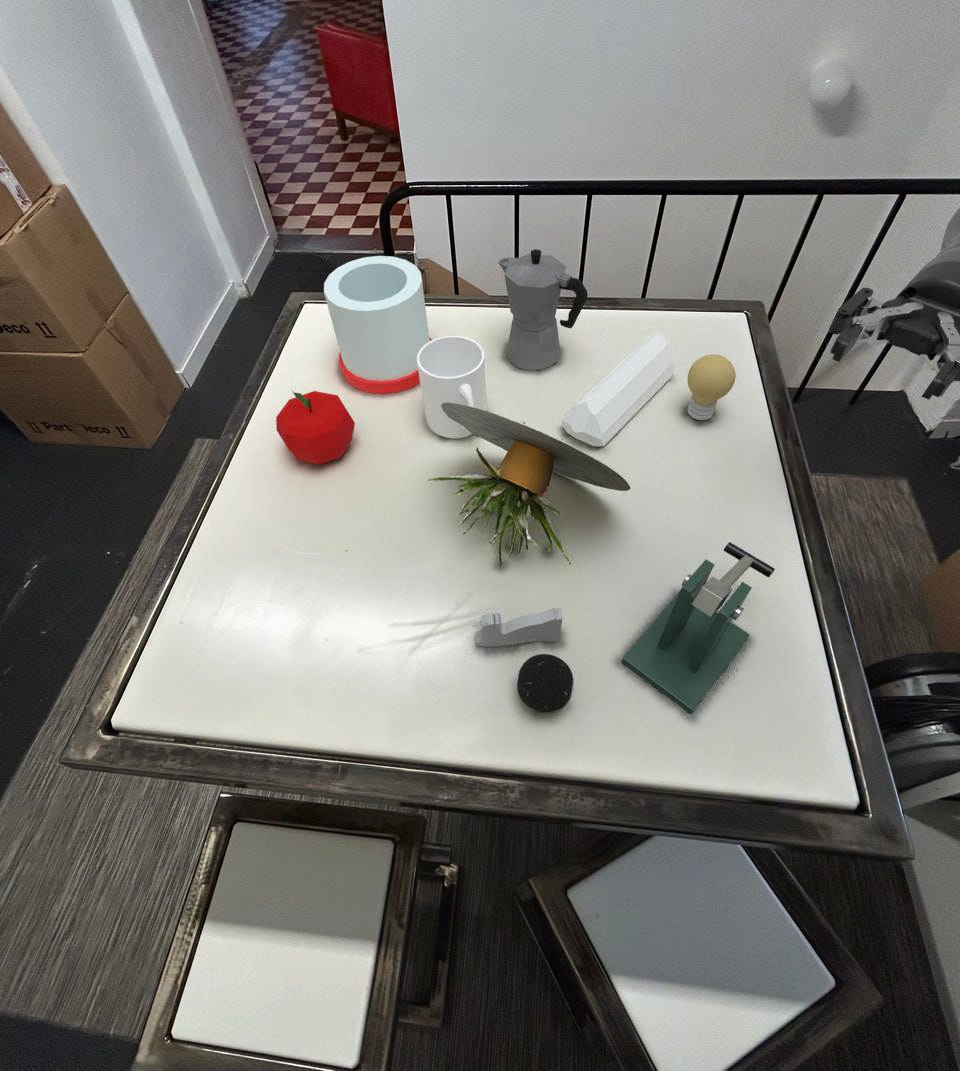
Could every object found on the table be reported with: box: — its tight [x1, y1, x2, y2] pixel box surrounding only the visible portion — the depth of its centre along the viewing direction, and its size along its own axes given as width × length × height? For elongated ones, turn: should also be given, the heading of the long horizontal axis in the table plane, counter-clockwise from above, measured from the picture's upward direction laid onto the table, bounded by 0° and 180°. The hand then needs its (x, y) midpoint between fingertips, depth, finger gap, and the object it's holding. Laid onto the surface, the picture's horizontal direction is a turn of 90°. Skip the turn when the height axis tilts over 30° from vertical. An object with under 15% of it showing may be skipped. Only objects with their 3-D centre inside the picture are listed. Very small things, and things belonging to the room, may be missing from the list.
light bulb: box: [686, 353, 736, 421], centre depth 89 cm, size 6×6×10 cm
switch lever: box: [692, 541, 776, 617], centre depth 64 cm, size 13×6×2 cm, turn 137°
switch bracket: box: [621, 558, 753, 715], centre depth 64 cm, size 12×9×14 cm
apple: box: [275, 390, 356, 465], centre depth 88 cm, size 11×11×10 cm
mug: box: [417, 335, 488, 439], centre depth 89 cm, size 10×12×12 cm
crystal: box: [561, 332, 676, 447], centre depth 93 cm, size 7×7×24 cm
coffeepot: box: [497, 248, 589, 372], centre depth 95 cm, size 15×9×18 cm, turn 55°
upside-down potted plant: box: [427, 403, 631, 567], centre depth 76 cm, size 25×18×25 cm
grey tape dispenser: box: [471, 607, 564, 648], centre depth 69 cm, size 6×1×10 cm
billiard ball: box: [516, 653, 575, 714], centre depth 65 cm, size 6×6×6 cm
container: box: [323, 255, 433, 395], centre depth 97 cm, size 16×16×15 cm
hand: (883, 371), depth 58 cm, fingers open, 8 cm apart
